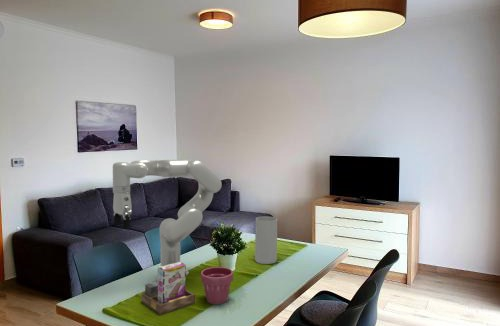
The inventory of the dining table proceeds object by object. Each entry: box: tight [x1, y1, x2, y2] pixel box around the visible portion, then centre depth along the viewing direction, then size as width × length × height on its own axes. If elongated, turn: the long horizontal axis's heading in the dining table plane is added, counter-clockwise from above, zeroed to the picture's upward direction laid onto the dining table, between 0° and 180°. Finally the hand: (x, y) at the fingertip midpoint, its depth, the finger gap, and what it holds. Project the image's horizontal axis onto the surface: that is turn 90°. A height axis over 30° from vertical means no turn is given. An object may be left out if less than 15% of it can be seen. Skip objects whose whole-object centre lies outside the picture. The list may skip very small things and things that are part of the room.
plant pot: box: [200, 266, 234, 305], centre depth 174 cm, size 14×14×13 cm
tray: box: [140, 281, 196, 316], centre depth 170 cm, size 17×16×8 cm
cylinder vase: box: [254, 215, 278, 265], centre depth 227 cm, size 12×12×25 cm
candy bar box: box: [157, 261, 187, 304], centre depth 167 cm, size 11×5×16 cm, turn 134°
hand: (121, 226), depth 181 cm, fingers open, 9 cm apart
